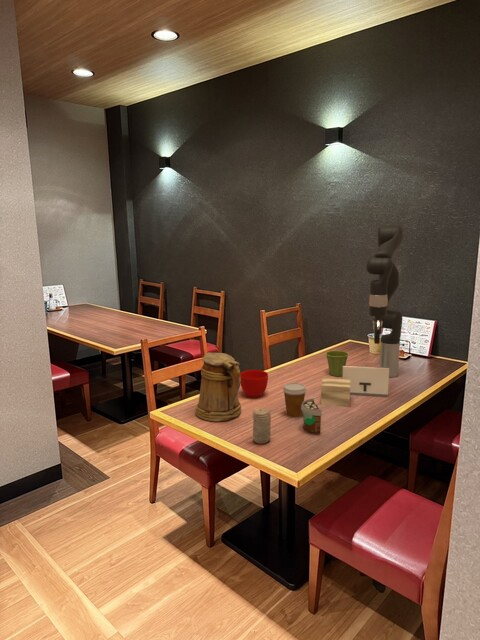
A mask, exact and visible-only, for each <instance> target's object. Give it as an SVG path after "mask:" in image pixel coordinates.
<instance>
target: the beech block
mask: <svg viewBox="0 0 480 640" xmlns="http://www.w3.org/2000/svg"><path fill="white" fill-rule="evenodd" d="M321 380H322V381H321V385H320V389H321V390H320V405H321V406H329V407H330V406H333V407H346V408H350V403H351V402H350V401H351V395H350V379H343V378H333V377H331V378H330V377H322V379H321Z"/></svg>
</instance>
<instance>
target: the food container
mask: <svg viewBox="0 0 480 640" xmlns="http://www.w3.org/2000/svg"><path fill="white" fill-rule="evenodd" d="M301 410H302V416H303V417H302V419H303V429H304V431H305V432H307V433H309V434H313V435H320V434H321V425H322V424H321V423H322V409H320V408H319V407H318V404H316V402H315V398H308V399H304V402H303V403H302V406H301Z"/></svg>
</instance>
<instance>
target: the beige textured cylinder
mask: <svg viewBox="0 0 480 640" xmlns="http://www.w3.org/2000/svg"><path fill="white" fill-rule="evenodd" d="M271 416H272V414H271V411H270V409H269V408H267V407H257V408H255V409H254V410H253V411H252V419H253V421H252V437H253V441H254V443H256V444H266V443H268V442H269V441H270V440H271V436H272V435H271V422H272V417H271Z"/></svg>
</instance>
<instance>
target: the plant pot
mask: <svg viewBox="0 0 480 640" xmlns="http://www.w3.org/2000/svg"><path fill="white" fill-rule="evenodd" d="M349 355H350V353H349V352H347V351H344V350H329V351H326V352H325V356H326V359H327V364H328V365H327V366H328V370H329V375H330V376H331V377H332V376H333V377H339V376H340V377H343V366H347V360H348V356H349Z"/></svg>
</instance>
